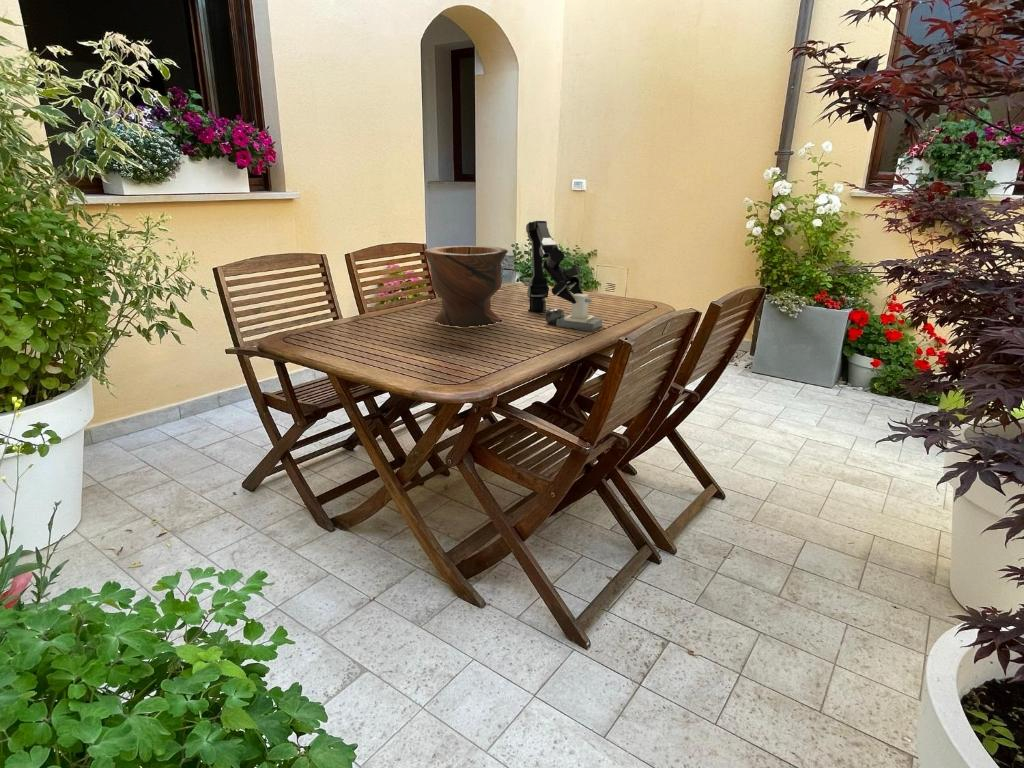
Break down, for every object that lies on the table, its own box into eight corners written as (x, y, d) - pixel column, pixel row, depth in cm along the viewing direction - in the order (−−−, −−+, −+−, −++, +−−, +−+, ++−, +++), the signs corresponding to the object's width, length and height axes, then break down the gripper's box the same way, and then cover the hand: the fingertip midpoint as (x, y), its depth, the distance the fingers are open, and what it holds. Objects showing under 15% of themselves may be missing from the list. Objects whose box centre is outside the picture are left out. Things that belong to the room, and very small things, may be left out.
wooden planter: (494, 309, 281) (493, 244, 271) (518, 326, 249) (519, 254, 240) (419, 314, 270) (416, 247, 261) (435, 333, 239) (432, 257, 229)
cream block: (571, 319, 248) (572, 295, 245) (576, 317, 252) (577, 293, 249) (587, 321, 245) (588, 297, 242) (592, 319, 249) (593, 294, 246)
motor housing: (543, 325, 252) (543, 310, 250) (553, 320, 260) (553, 306, 258) (593, 331, 242) (593, 316, 240) (601, 326, 251) (602, 311, 249)
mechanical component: (542, 298, 303) (542, 278, 300) (521, 298, 304) (522, 278, 300) (542, 297, 306) (542, 277, 303) (521, 297, 306) (522, 277, 303)
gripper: (559, 261, 236) (585, 292, 235) (577, 255, 251) (601, 284, 250) (540, 280, 242) (565, 310, 241) (559, 273, 257) (583, 301, 256)
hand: (579, 301), depth 247 cm, fingers open, 9 cm apart
